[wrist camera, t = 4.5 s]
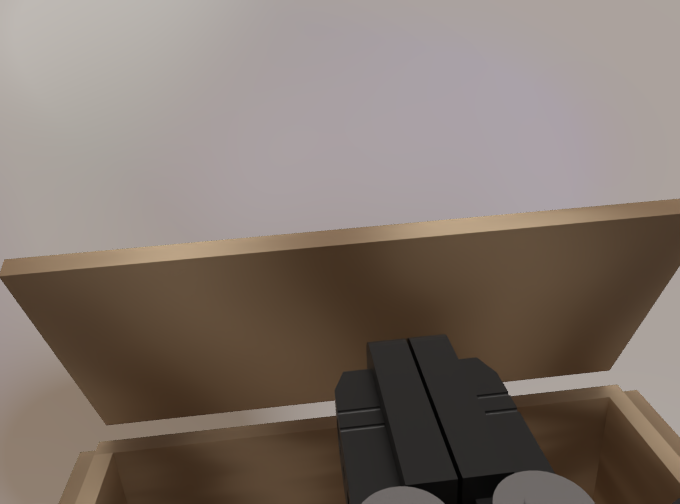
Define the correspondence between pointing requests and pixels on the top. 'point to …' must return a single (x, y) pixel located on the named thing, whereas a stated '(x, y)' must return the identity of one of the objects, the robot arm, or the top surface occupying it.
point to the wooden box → (325, 468)
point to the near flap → (345, 305)
